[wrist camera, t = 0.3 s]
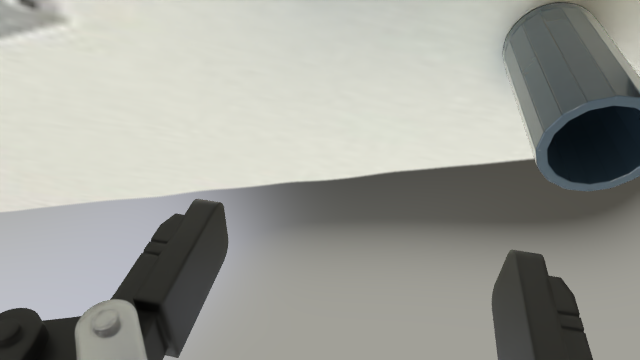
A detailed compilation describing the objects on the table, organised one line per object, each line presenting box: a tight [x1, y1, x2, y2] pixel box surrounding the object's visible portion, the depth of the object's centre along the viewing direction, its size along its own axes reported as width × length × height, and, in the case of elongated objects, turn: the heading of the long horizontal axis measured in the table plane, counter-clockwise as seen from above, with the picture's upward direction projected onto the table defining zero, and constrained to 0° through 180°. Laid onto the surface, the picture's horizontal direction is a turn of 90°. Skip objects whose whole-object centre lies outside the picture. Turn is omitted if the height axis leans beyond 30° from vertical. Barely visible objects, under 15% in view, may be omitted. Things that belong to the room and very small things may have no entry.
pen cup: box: [503, 3, 640, 191], centre depth 26 cm, size 6×6×11 cm
